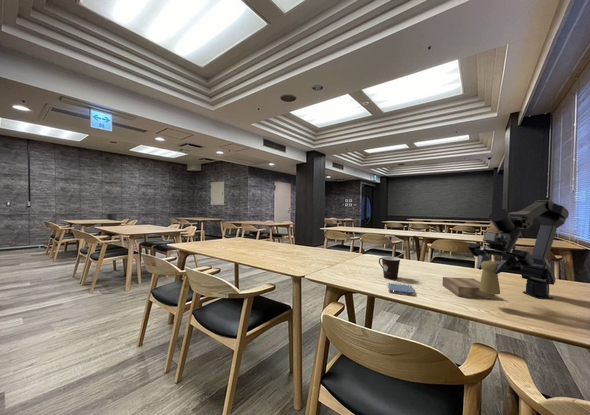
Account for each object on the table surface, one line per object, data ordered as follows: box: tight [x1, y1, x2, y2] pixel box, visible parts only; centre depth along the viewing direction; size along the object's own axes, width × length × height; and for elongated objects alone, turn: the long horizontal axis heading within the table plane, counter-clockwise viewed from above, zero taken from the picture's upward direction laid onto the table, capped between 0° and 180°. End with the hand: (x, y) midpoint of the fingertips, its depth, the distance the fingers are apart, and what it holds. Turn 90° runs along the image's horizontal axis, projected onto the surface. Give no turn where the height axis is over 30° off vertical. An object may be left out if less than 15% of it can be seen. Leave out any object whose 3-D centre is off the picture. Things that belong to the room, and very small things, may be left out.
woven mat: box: [387, 282, 416, 297], centre depth 101 cm, size 10×11×2 cm
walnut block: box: [442, 276, 495, 299], centre depth 101 cm, size 13×13×4 cm
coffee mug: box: [378, 255, 401, 281], centre depth 120 cm, size 12×9×10 cm
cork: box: [479, 260, 501, 295], centre depth 86 cm, size 6×6×11 cm
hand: (487, 271), depth 85 cm, fingers closed on cork, 5 cm apart
